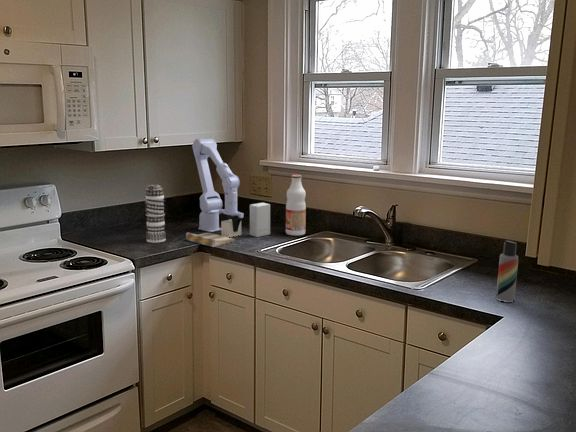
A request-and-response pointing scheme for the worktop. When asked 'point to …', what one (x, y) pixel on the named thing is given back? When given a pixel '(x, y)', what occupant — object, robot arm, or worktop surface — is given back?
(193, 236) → the tan flat slab
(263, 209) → the skincare box
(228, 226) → the carton
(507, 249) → the lotion bottle
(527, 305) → the worktop surface
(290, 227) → the fruit juice
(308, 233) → the worktop surface
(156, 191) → the grey striped cylinder
